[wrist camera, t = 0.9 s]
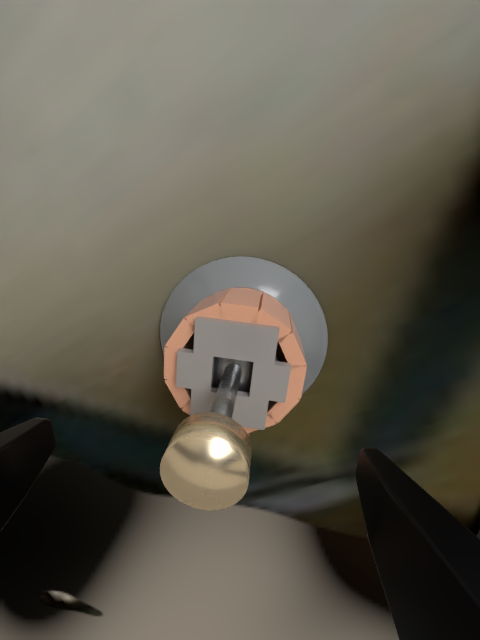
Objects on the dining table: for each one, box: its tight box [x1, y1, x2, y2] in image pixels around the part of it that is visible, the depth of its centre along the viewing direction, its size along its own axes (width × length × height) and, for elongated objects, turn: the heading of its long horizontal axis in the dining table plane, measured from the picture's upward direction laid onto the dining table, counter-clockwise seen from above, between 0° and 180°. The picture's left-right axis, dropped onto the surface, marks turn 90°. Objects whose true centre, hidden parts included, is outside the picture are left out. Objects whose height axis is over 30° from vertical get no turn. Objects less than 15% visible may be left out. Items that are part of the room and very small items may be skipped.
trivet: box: [160, 256, 328, 394], centre depth 21 cm, size 12×12×1 cm
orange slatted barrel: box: [164, 287, 307, 436], centre depth 19 cm, size 10×8×5 cm
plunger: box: [160, 356, 278, 511], centre depth 13 cm, size 5×5×8 cm
